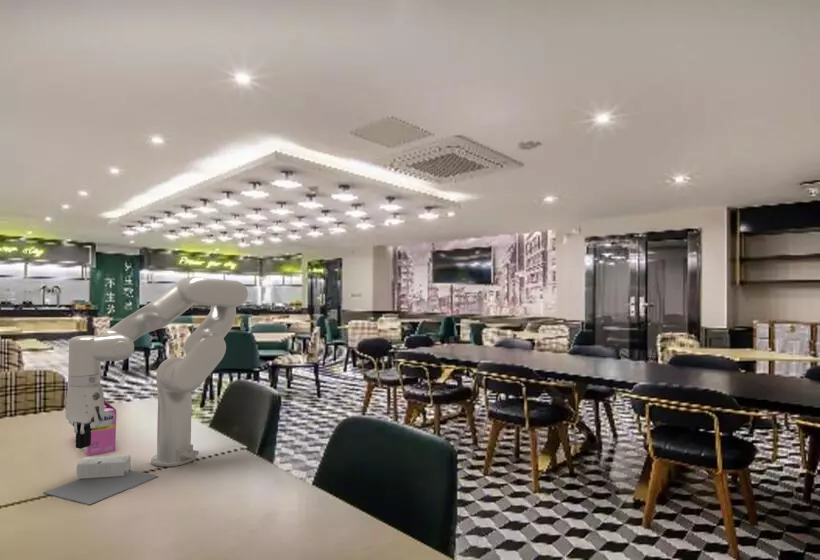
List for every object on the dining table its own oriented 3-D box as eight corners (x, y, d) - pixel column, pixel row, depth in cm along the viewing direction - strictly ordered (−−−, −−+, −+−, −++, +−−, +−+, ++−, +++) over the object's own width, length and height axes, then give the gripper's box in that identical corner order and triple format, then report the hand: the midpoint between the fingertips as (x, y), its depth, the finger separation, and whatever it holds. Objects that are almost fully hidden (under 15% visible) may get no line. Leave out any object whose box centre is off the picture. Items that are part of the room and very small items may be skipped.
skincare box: (84, 456, 144) (131, 453, 147) (84, 472, 144) (131, 468, 147) (75, 464, 138) (124, 460, 141) (76, 481, 138) (124, 476, 141)
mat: (158, 477, 141) (158, 476, 141) (89, 505, 123) (89, 504, 123) (114, 467, 148) (114, 466, 148) (43, 493, 129) (43, 492, 129)
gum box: (74, 438, 175) (75, 399, 175) (100, 434, 181) (101, 396, 181) (87, 456, 158) (88, 413, 158) (116, 450, 163) (117, 409, 163)
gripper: (116, 380, 140) (114, 446, 139) (79, 376, 145) (78, 439, 145) (90, 385, 133) (88, 454, 132) (52, 380, 138) (51, 447, 138)
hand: (83, 446), depth 139 cm, fingers closed
